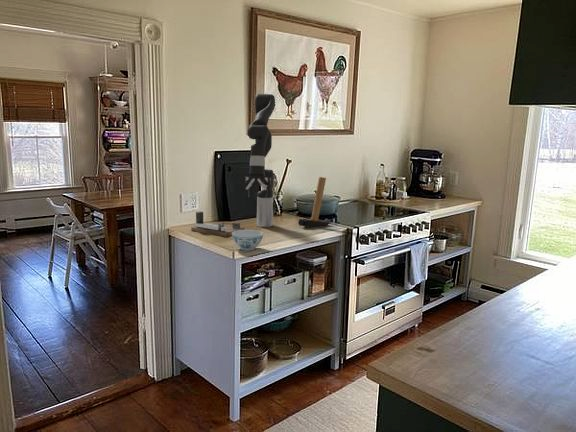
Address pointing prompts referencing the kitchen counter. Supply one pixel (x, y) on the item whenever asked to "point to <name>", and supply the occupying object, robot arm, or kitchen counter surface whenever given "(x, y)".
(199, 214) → the lever
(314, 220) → the hammer
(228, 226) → the press base
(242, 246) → the chinaware
